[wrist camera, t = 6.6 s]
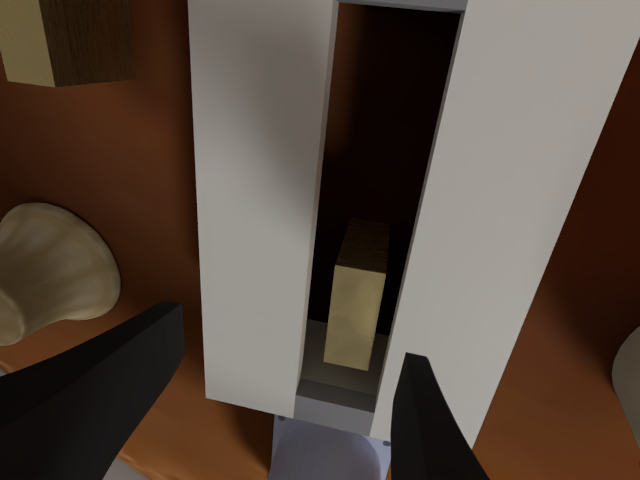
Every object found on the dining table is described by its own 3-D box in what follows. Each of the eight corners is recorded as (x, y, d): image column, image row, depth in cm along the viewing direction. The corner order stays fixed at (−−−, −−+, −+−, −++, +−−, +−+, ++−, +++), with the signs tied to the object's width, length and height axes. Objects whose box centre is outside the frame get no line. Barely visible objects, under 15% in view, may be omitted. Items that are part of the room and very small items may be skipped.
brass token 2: (375, 306, 22) (367, 370, 17) (339, 299, 22) (323, 361, 18) (390, 223, 20) (386, 274, 15) (350, 217, 20) (335, 265, 15)
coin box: (452, 362, 22) (467, 460, 17) (250, 321, 24) (205, 397, 19) (574, -11, 14) (674, -48, 9) (258, -37, 16) (184, -82, 11)
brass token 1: (137, 79, 19) (55, 87, 15) (99, 74, 19) (7, 81, 15) (123, -48, 17) (22, -83, 12) (82, -51, 17) (-33, -87, 13)
